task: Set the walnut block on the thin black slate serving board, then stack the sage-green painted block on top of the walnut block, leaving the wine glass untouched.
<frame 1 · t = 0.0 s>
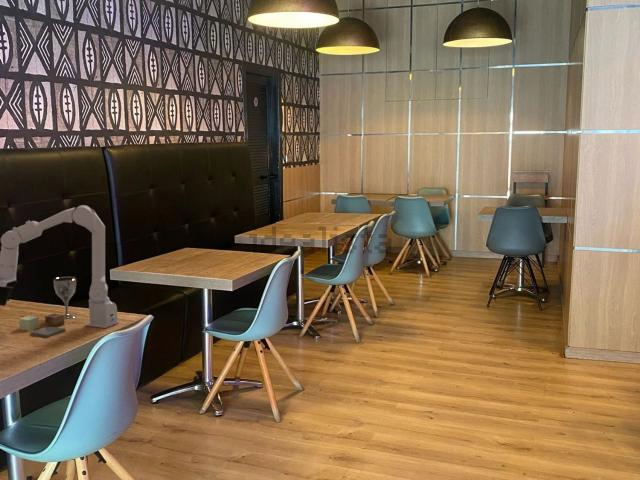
hand: (3, 302, 222), 11 cm above the table, tool pointing down, fingers open, 7 cm apart
sage cube: (29, 328, 227), on the table
wine glass: (67, 317, 243), on the table
walnut block: (55, 326, 231), on the table
slate board: (48, 333, 221), on the table
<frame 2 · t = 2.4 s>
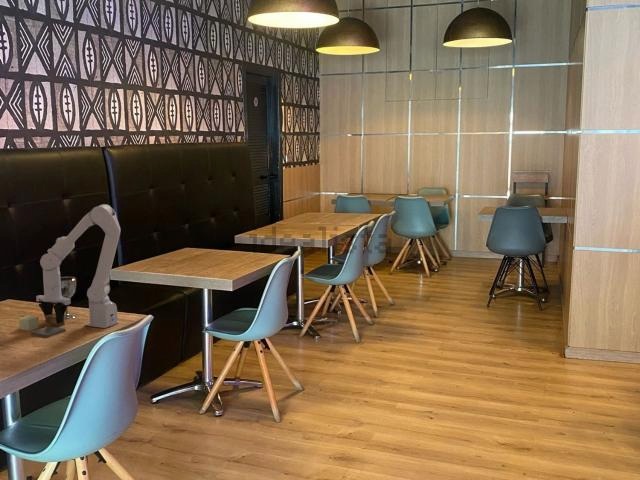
hand: (54, 322, 230), 1 cm above the table, tool pointing down, fingers closed on walnut block, 4 cm apart
walnut block: (55, 325, 231), on the table, touching gripper
everything else where it was.
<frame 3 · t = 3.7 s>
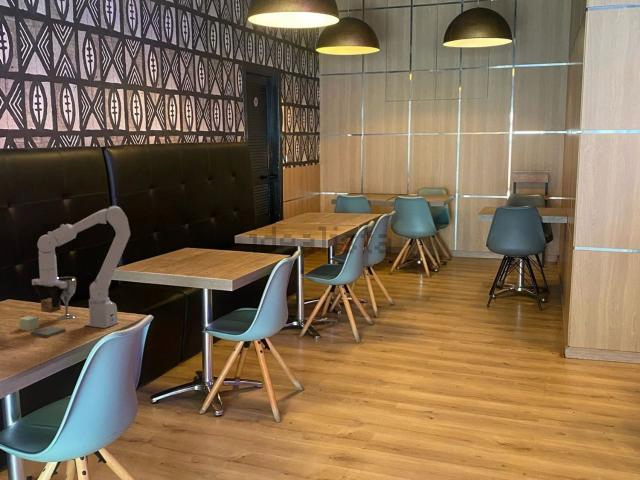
hand: (50, 306, 225), 8 cm above the table, tool pointing down, fingers closed on walnut block, 4 cm apart
walnut block: (51, 310, 226), point 7 cm above the table, touching gripper
everything else where it was.
when the fingers open (3 cm above the table, at t = 5.4 s): walnut block stays where it is, resting on slate board.
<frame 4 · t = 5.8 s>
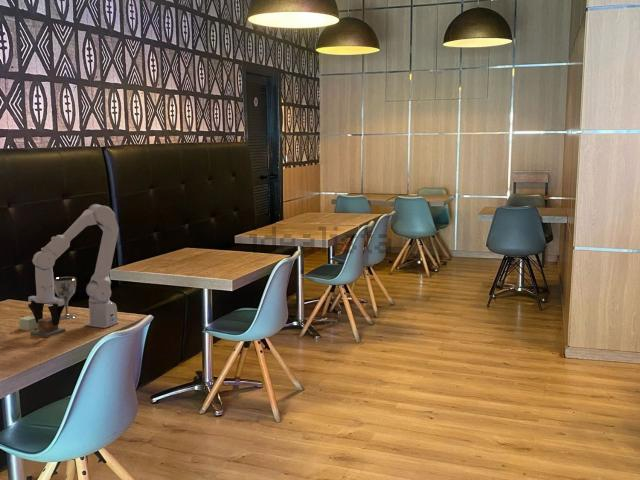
hand: (47, 323, 221), 3 cm above the table, tool pointing down, fingers open, 7 cm apart
walnut block: (48, 330, 221), point 1 cm above the table, touching slate board
everything else where it was.
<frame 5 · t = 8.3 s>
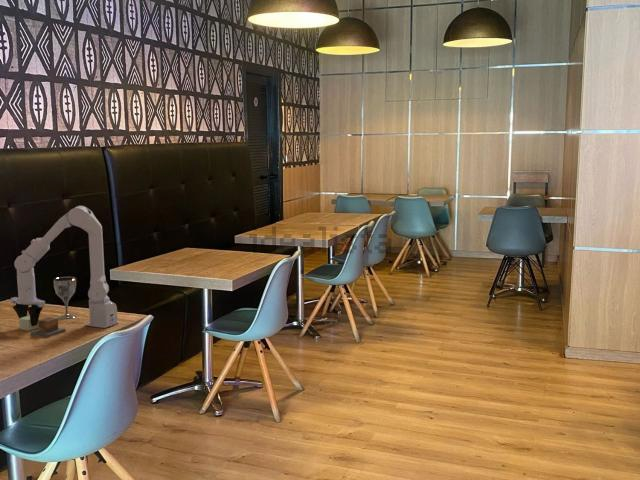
hand: (29, 324, 227), 1 cm above the table, tool pointing down, fingers closed on sage cube, 4 cm apart
sage cube: (29, 328, 227), on the table, touching gripper
everything else where it was.
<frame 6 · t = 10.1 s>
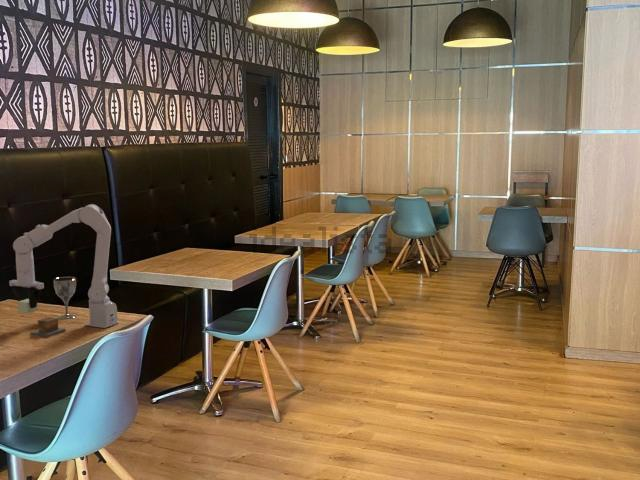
hand: (28, 306, 226), 8 cm above the table, tool pointing down, fingers closed on sage cube, 4 cm apart
sage cube: (28, 311, 226), point 6 cm above the table, touching gripper
everything else where it was.
when the fingers open (7 cm above the table, at t = 12.0 s): sage cube stays where it is, resting on walnut block.
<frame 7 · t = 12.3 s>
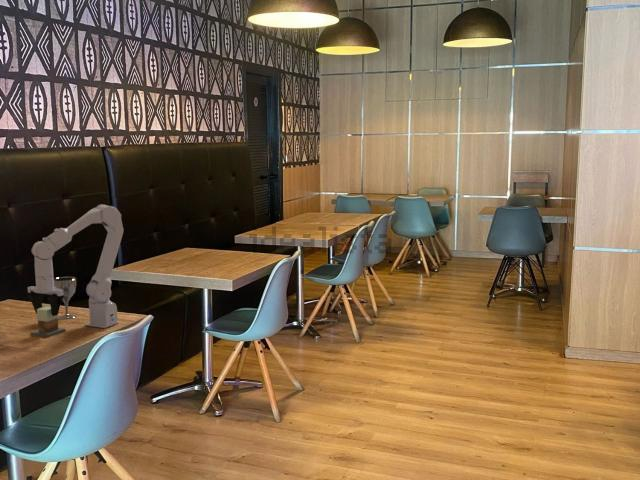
hand: (46, 314, 220), 7 cm above the table, tool pointing down, fingers open, 7 cm apart
sage cube: (47, 319, 221), point 5 cm above the table, touching walnut block
walnut block: (48, 330, 221), point 1 cm above the table, touching sage cube, slate board
everything else where it was.
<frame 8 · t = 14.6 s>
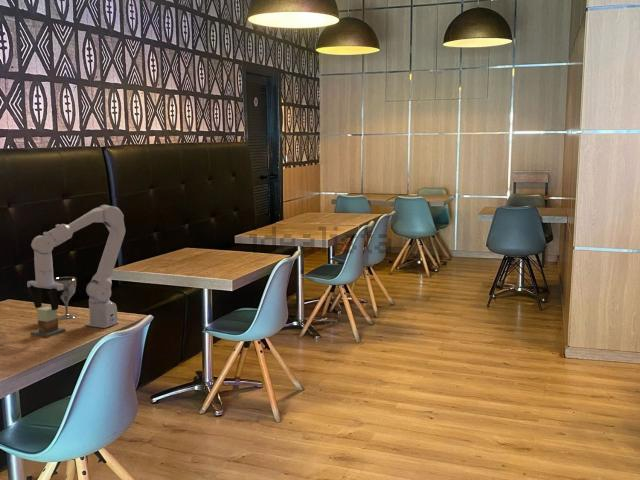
hand: (46, 308, 220), 9 cm above the table, tool pointing down, fingers open, 7 cm apart
nothing on the table moved.
at the end: walnut block 0.2 cm off-centre on the slate board, point 1.0 cm above the slate board's base; sage cube 0.2 cm off-centre on the walnut block, point 4.0 cm above the walnut block's base; sage cube tilted 0° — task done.
